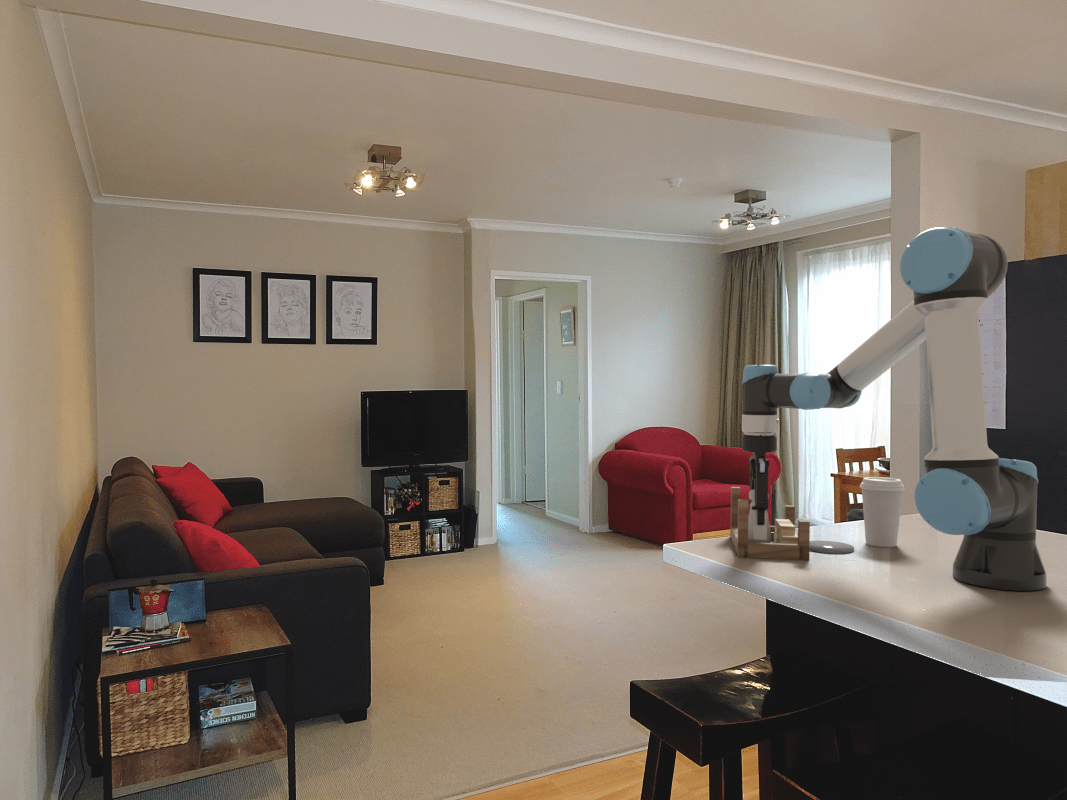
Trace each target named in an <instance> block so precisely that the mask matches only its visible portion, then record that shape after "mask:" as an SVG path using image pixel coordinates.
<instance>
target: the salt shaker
mask: <svg viewBox="0 0 1067 800" xmlns="http://www.w3.org/2000/svg"><path fill="white" fill-rule="evenodd" d="M769 497H770V494H768V499H769ZM748 499H749V501H750V500H752V502H750V503H751V507H752V506H755V490H754V489H753V490H750V489H749V492H748ZM759 503H760V502H759ZM751 507H750V506H749V511H748V542H755V543H771V542H772V539H771V532H770V526H771V525H770V519H769V513H768V512H767V540H759V539H754V510H752V508H751Z"/></svg>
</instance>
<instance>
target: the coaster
mask: <svg viewBox="0 0 1067 800" xmlns="http://www.w3.org/2000/svg"><path fill="white" fill-rule="evenodd" d="M809 550H810V551H809V552H814V551H815V553H820V552H822V553H821V554H830V553H845V554H851V553H854V552H855V546H854V545H851V544H849V543H845V542H840V541H831V540H809ZM853 551H854V552H853ZM850 552H851V553H850Z"/></svg>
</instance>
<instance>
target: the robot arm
mask: <svg viewBox="0 0 1067 800" xmlns="http://www.w3.org/2000/svg"><path fill="white" fill-rule="evenodd" d="M899 263H900V264H899V272H900V276H901V278H902V281H903V282H904V284H905V285H907V287H909V289H910V290H911V291H913V300H912V301H911V302H910V303H909V304H907V305H906V306H904V308H903V309H902V310H900V311H899V312H898V313H897V314H896V315H894V316H893V317H892V318H891V319H890V320H888V322H886V323H885V324H884V325H883V326H881V327H880V329H878V330H877V331H876V332H875V333H873V334H872V335H871V336H870V337H869V338H867V339H866V340H865V341H864V342H863V343H862V344H860V346H858V347H857V348H856V349H855V350H853V351H852V352H851V353H850V354H849V355H847V356H846V357H845V358H843V360H842V361H841V362H839V363H838V364H837V365H836V366H834V368H832V369H831V370H830V371H829V372H827V373H813V372H804V373H803V372H802V373H779V370H778V366H777V365H775V364H748V365H746V366H744V368H743V372H742V381H741V386H742V387H741V389H742V393H741V394H742V414H741V431H742V433H743V435H742V436H741V450H742V451H743V452H747V453H752V454H751V456H750V458H749V459H748V466H749V491H750V490H753V489H754V490H755V506H752V507H751V502H752V500H750V499H749V502H750V503H749V508H750V507H751V508H752V510H754V539H759V540H767V513H768V509H769V508H770V507H769V506H770V505H769V498H768V495H769V467H770V460H768V458H767V453H775V452H776V451H777V450H778V446H777V445H778V438H777V437H778V436H776V435H775V433H778V432H777V431H778V430H777V429H778V425H777V424H779V423H780V419H779V418H777V417H778V409H791V410H792V409H793V410H794V409H795V410H797V409H798V410H803V411H807V410H810V411H811V410H819V409H844V408H848V407H849V408H850V407H852V406H854V405H855V404H856V403H858V401H859V400H860V398H861V396H862V391H863V390H864V389H866V388H867V387H868V386H869V385H871V384H872V383H873V382H874V381H876V380H877V379H878V378H879V377H881V376H882V375H883V374H884V373H886V372H888V370H890V369H891V368H892V367H893V366H894V365H896V364H897V363H898V362H900V361H901V360H903V358H905V357H906V356H907V355H909V354H910V353H911V352H912V351H914V350H915V349H916V348H918V347H919V346H920V345H921V344H922V343H924V342H925V343H926V348H925V349H926V359H927V362H926V363H927V376H928V379H927V380H928V393H929V395H928V396H929V409H930V422H931V423H930V424H931V425H930V426H931V435H932V436H931V439H932V448H931V450H930V451H929V452H928V453H927V454H926V455H925V456H924V459H923V460H924V463H923V464H924V475H922V477H921V478H920V480H919V481H918V482H917V484H916V485H915V490H914V502H915V507H916V509H917V511H918V513H919V515H920V517H921V518H922V519H923V520H924V521H925V522H926V523H927V524H928V525H929V526H930V527H931V528H933V529H934V530H936V531H938V532H940V533H943V534H947V535H951V536H963V538H962V541H961V542H960V546H959V547H958V550H957V553H956V555H955V559H954V561H953V563H952V577H953V578H954V579H956V580H957V581H960V582H963V583H967V584H969V585H973V586H978V587H982V588H988V589H995V590H1004V591H1015V592H1016V591H1018V592H1019V591H1020V592H1021V591H1022V592H1028V591H1029V592H1031V591H1039V590H1043V589H1045V588H1046V587H1047V572H1046V570H1045V566H1044V563H1043V561H1042V558H1041V555H1040V553H1039V549H1038V546H1037V541H1036V540H1037V516H1038V515H1037V513H1038V512H1037V509H1038V484H1039V479H1038V470H1037V468H1038V467H1037V466H1036V465H1035V464H1034V463H1033V462H1031V461H1027V460H1022V459H1021V460H1020V459H1009V458H1002V457H999V455H998V454H997V453H995V452H994V451H993V450H992V449H991V448H989V445H988V434H987V432H988V431H987V419H986V418H987V415H986V403H985V402H986V401H985V388H984V375H983V374H984V373H983V361H982V358H983V357H982V356H983V355H982V346H981V343H982V342H981V332H980V331H981V329H980V315H979V312H980V310H981V309H982V307H983V306H985V305H986V304H987V302H988V300H989V299H988V298H989V297H991V295H992V294H993V293H995V292H996V291H997V289H999V287H1000V286H1001V284H1003V282H1004V280H1005V277H1006V275H1007V272H1008V267H1009V266H1008V264H1009V263H1008V257H1007V253H1006V251H1005V249H1004V248H1003V246H1002V244H1000V243H999V242H997V241H996V239H994V238H991V237H990V236H987V235H984V234H980V233H973V232H969V231H966V230H963V229H959V228H958V227H951V226H950V227H943V226H939V227H934V228H933V227H932V228H930V229H926V230H924V231H922V232H920V233H919V234H918V235H916V236H915V237H914V238H912V240H911V241H910V243H908V245H907V246H906V247H905V248H904V251H903V252H902V256H901V257H900V262H899ZM759 502H760V503H759Z"/></svg>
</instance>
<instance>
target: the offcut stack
mask: <svg viewBox="0 0 1067 800" xmlns="http://www.w3.org/2000/svg"><path fill="white" fill-rule="evenodd" d="M774 526H775V533H774V539H773V543H780V544H798V536H797V535H796V534H795V529H796V526H794V525H793V524H792V522H791V521H790V520H789V519H785V518H775V525H774Z"/></svg>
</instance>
